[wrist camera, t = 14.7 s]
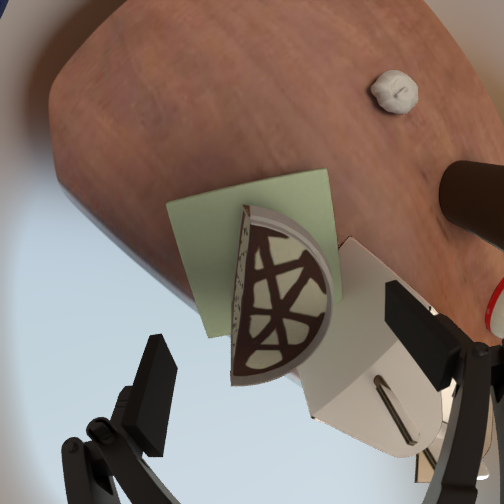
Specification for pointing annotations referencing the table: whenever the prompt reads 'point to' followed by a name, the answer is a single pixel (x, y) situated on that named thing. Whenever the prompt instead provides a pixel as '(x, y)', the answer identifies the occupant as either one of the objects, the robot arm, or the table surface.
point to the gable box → (377, 373)
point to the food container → (276, 297)
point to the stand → (227, 232)
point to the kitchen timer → (496, 312)
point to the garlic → (395, 92)
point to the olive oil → (475, 199)
